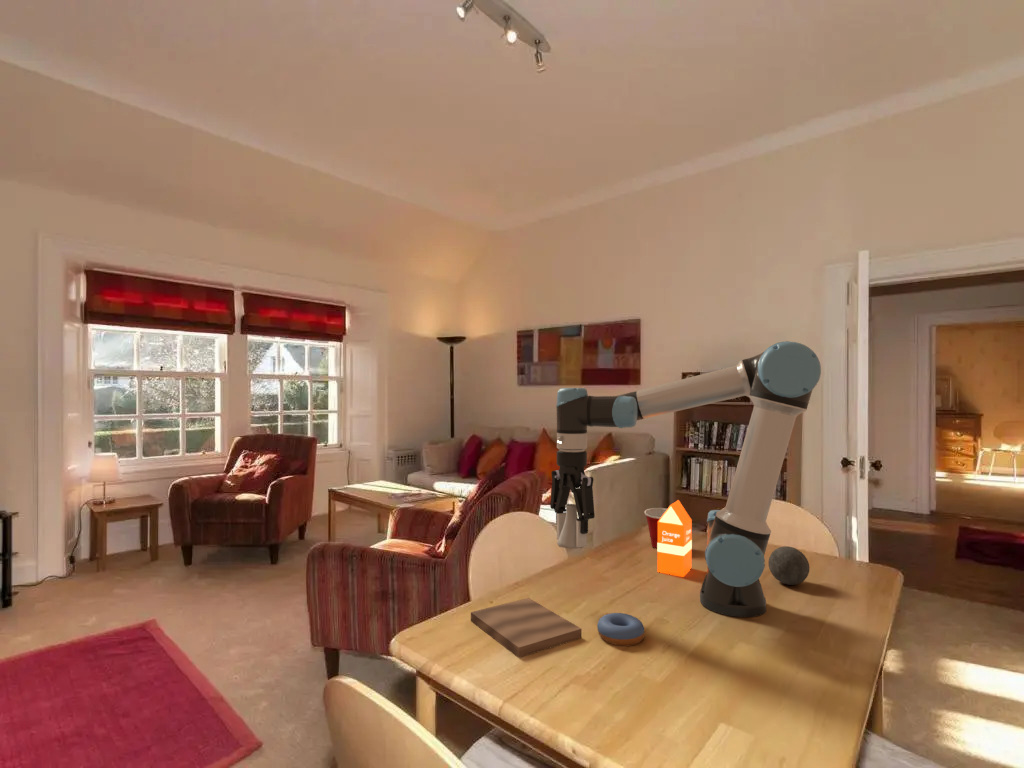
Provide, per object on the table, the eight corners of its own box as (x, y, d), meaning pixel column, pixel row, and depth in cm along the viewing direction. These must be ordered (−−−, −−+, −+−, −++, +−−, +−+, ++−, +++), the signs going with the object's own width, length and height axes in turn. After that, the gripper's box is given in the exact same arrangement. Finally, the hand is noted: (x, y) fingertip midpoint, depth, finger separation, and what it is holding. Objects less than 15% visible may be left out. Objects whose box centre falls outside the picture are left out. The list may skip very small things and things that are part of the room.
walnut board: (581, 638, 117) (581, 628, 117) (518, 657, 108) (518, 647, 108) (528, 606, 134) (528, 597, 134) (470, 620, 125) (470, 612, 125)
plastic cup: (641, 550, 180) (641, 513, 180) (646, 541, 190) (646, 506, 190) (675, 553, 176) (676, 516, 176) (679, 544, 186) (679, 509, 186)
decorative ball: (812, 592, 144) (812, 554, 144) (770, 587, 147) (770, 550, 147) (805, 579, 153) (805, 543, 153) (766, 575, 156) (766, 540, 156)
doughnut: (587, 630, 120) (589, 610, 120) (625, 624, 124) (627, 605, 124) (612, 655, 111) (615, 633, 111) (653, 648, 115) (655, 627, 115)
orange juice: (692, 568, 162) (692, 500, 162) (683, 577, 155) (684, 506, 155) (665, 563, 166) (666, 497, 166) (656, 572, 159) (656, 503, 159)
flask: (585, 550, 132) (585, 509, 132) (555, 548, 133) (555, 507, 133) (587, 542, 139) (587, 502, 139) (558, 540, 140) (558, 501, 140)
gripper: (536, 447, 142) (535, 535, 142) (586, 455, 126) (586, 555, 125) (559, 445, 146) (559, 531, 146) (610, 453, 130) (610, 550, 129)
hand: (571, 542), depth 136 cm, fingers closed on flask, 7 cm apart
